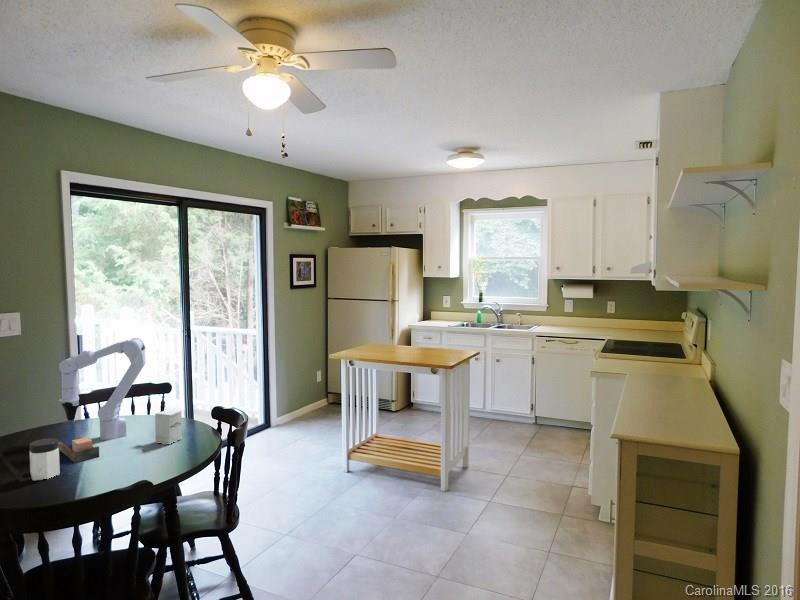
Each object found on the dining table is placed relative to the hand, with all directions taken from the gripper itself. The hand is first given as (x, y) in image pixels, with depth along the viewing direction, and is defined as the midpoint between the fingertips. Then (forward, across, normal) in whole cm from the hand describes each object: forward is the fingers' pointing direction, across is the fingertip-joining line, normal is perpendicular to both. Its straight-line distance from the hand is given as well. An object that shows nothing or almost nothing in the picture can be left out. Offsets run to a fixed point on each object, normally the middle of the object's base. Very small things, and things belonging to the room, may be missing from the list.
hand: (71, 419), depth 213 cm
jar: (+10, +33, -17) cm, 38 cm away
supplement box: (+10, +28, +28) cm, 41 cm away
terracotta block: (+8, +24, -3) cm, 26 cm away
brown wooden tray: (+9, +19, -3) cm, 21 cm away
